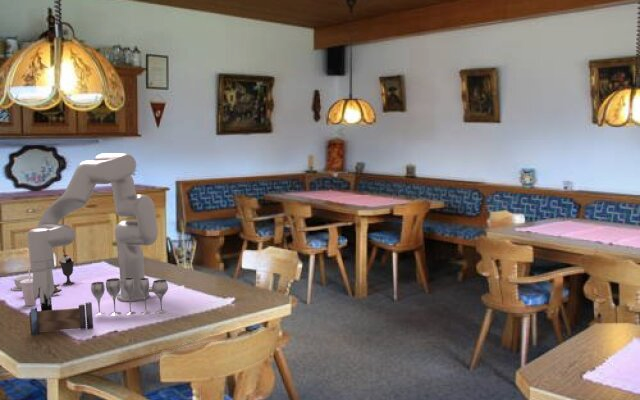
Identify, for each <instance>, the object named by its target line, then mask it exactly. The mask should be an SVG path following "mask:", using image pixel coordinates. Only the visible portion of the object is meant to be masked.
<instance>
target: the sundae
mask: <svg viewBox="0 0 640 400" xmlns="http://www.w3.org/2000/svg"><path fill="white" fill-rule="evenodd" d="M62 252H63V253H64V254H63V257H62V259H61V260H60V261H58V263H59V264H60V266H61V270H62V271H61V272H62V274H63V275H64V276H65V277H66V281H65V282H63V283H62V285H63V286H71V285H75V281H71V279H70V276H71V275H72V274H73V271H74V262H75V259H72V258H71V256H69V255H68V254H66V253H65V251H64V249H62Z"/></svg>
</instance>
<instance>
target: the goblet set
mask: <svg viewBox="0 0 640 400" xmlns="http://www.w3.org/2000/svg"><path fill="white" fill-rule="evenodd" d="M149 287H150V280H149V278H148V277H145V278H142V279H140V290H141V292H142V294H143V296H144V299H143V300H144V310H145V311H142V312H140V315H143V316H144V315H149V314H152V311H149V310H147V298H146V297H147V293H148V291H149ZM151 287H152V290H153V292H152V293H153V294H155V296H157V297H158V298H159V303H160V310H158V311H157V310H156V311H155V312H154V314H155V315H165V314H168V311H167V310H163V309H162V300H163V297H164V296H165V295H166V293H167V292H168V290H169V286H168V282H167V280H166V279H156V280H154V281H153V282H152V286H151ZM90 290H91V294H92V296H93V297H94V298H95V300H96V301H97V306H98V312H96V314H95V313H94V314H95V315H102V314H105V313H106V312H104V313H102V312H101V308H100V307H101V299H102V298H103V295H104V294H105V290H106V292H107V294H108V295H109V296H110V297H111V299H112V301H113V310H114V311H113V312H109V313H110V314H109V313H108V316H110V315H111V316H110V317H113V316H114V317H116V315H117V316H121V315H122V314H123V313H122V312H121V311H116V300H117V295H118V294H120V293H121V283H120V278H117V277H114V278H113V277H111V278H107V279H106V280H105V283H104V282H103V281H94V282H92V283H91V284H90ZM124 290H125V292H126V294H127V296H128V298H129V301H128V302H129V311H128V312H125V313H124V314H125V316H132V315H136V313H137V312H136V311H132V310H131V309H132V308H131V307H132V305H131V303H132V301H131V296H132V293H133V290H134V281H133V278H125V279H124ZM100 312H101V313H100ZM105 315H106V314H105Z"/></svg>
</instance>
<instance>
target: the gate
mask: <svg viewBox="0 0 640 400" xmlns="http://www.w3.org/2000/svg"><path fill="white" fill-rule="evenodd" d="M28 314H29V317H28V318H29V326H30V327H29V329H30V333H32V321H31V311H29V312H28ZM37 315H38V327H39V333H43V332H55V331H67V330H78V329H81V330H83V329H87V319H86V304H79V305H78V307H75V308H73V307H72V308H62V309H61V308H60V309H52V310H45V311H41V310H37Z"/></svg>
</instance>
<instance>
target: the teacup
mask: <svg viewBox="0 0 640 400" xmlns="http://www.w3.org/2000/svg"><path fill="white" fill-rule="evenodd" d="M30 277H31V279H33V275H30ZM26 279H29V275H21V276H16V277H14V278H13V282H14V285H15V286H12V288H11V290H12V291H22V287H21V285H20V281H22V280H26Z"/></svg>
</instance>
